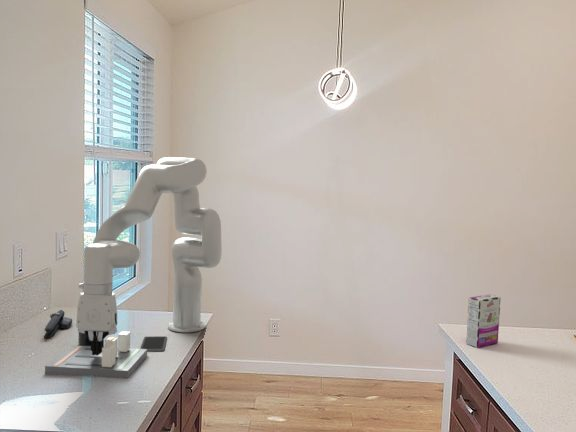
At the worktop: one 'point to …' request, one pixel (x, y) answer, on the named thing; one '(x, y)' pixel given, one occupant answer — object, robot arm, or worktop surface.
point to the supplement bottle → (84, 339)
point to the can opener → (56, 323)
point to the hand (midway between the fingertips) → (97, 353)
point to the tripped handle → (112, 342)
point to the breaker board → (95, 363)
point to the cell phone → (154, 343)
